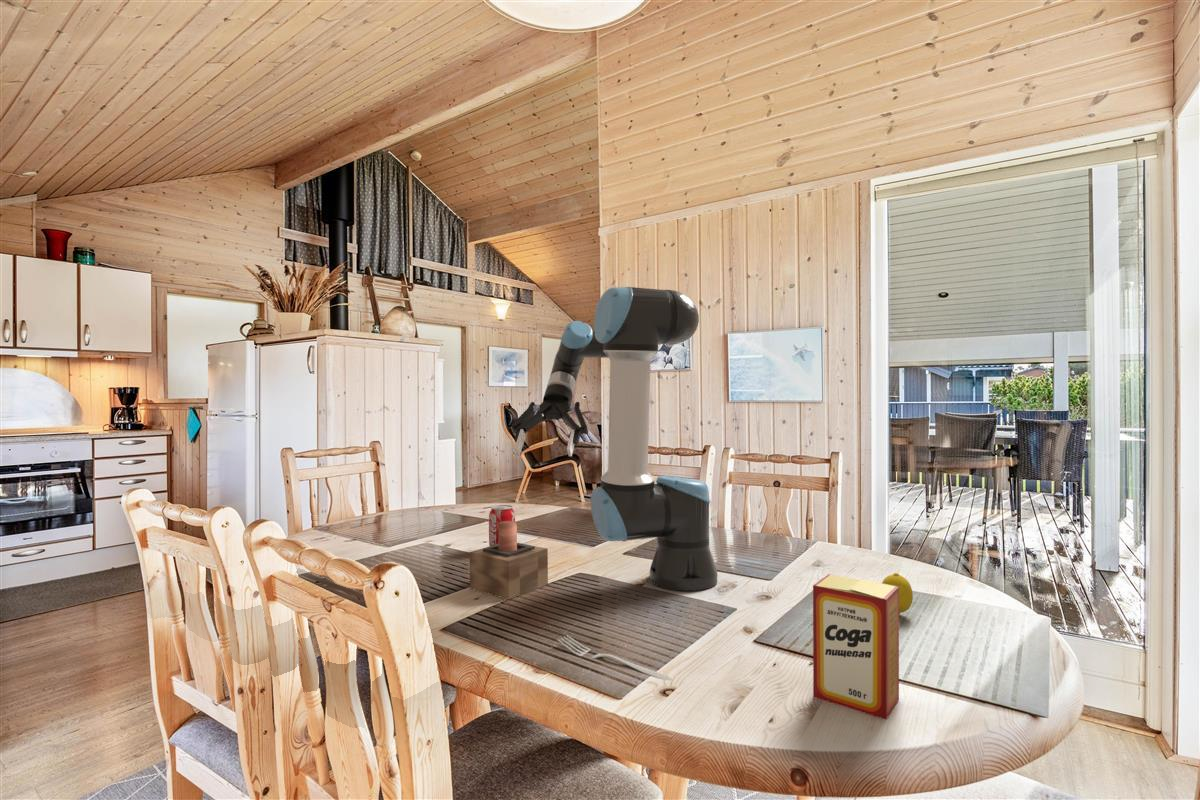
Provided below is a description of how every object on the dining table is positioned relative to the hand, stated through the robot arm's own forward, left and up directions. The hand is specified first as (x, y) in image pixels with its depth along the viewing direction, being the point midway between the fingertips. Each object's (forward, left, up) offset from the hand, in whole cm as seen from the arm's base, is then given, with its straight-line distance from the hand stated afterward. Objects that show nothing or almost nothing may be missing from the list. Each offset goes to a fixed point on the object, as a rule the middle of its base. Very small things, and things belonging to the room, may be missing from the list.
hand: (542, 452), depth 151 cm
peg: (-6, +18, -28) cm, 33 cm away
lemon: (-78, -13, -28) cm, 84 cm away
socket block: (-6, +18, -28) cm, 33 cm away
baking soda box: (-80, +24, -28) cm, 88 cm away
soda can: (+17, -2, -28) cm, 33 cm away
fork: (-48, +34, -28) cm, 65 cm away
